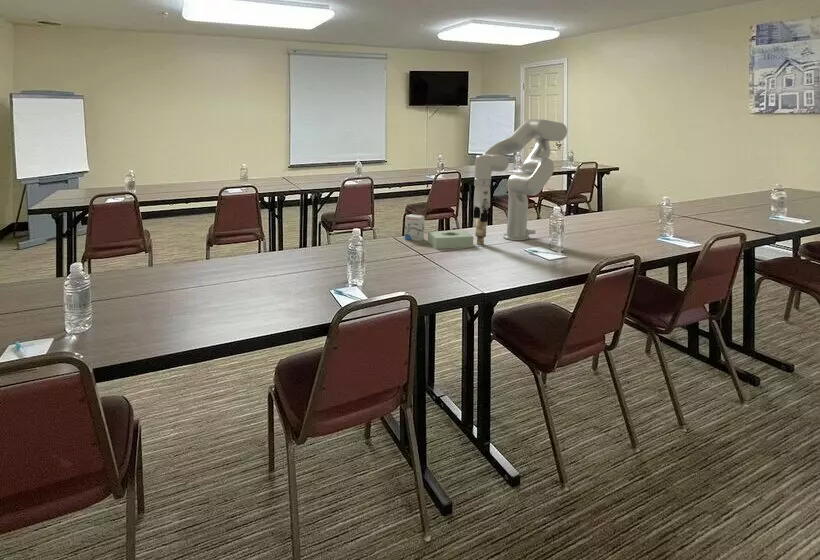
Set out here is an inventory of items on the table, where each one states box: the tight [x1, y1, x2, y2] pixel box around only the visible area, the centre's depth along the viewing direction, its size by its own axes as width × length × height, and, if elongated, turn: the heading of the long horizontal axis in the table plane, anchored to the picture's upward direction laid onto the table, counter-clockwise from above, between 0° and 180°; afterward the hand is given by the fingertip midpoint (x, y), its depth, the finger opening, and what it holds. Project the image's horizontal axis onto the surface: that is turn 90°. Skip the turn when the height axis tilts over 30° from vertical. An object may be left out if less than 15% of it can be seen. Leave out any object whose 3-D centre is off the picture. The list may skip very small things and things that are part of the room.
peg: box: [474, 217, 487, 246], centre depth 257 cm, size 5×5×12 cm
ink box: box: [404, 213, 426, 242], centre depth 267 cm, size 9×5×12 cm, turn 62°
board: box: [427, 229, 474, 250], centre depth 258 cm, size 18×14×5 cm
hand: (480, 219), depth 255 cm, fingers open, 9 cm apart
